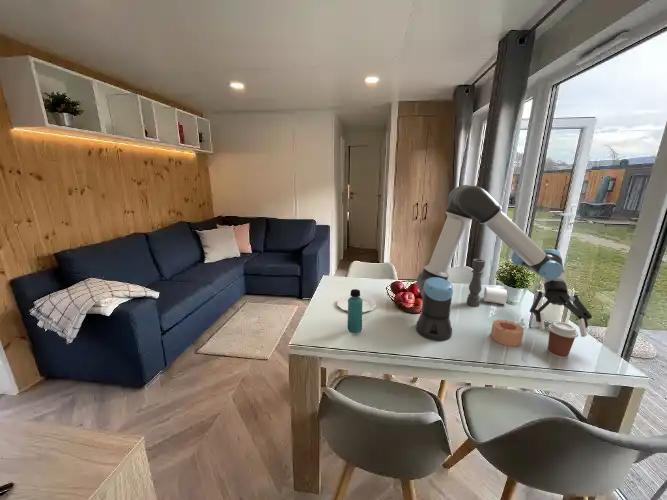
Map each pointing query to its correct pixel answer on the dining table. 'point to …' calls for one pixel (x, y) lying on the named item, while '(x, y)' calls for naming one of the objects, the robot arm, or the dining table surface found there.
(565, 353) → the coffee cup
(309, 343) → the dining table surface
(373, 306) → the plate
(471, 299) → the candle holder
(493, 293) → the mug
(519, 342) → the terracotta bowl
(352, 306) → the beverage bottle
